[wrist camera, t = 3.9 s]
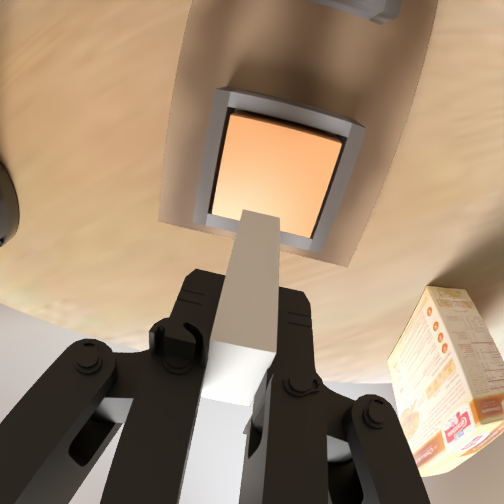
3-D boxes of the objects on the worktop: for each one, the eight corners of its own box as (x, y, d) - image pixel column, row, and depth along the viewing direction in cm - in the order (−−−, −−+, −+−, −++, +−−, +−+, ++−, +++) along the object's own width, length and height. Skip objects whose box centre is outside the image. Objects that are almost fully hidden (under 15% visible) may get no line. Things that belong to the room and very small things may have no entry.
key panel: (172, 203, 31) (141, 244, 24) (241, -104, 12) (226, -144, 5) (341, 244, 31) (354, 295, 25) (430, -53, 13) (467, -77, 6)
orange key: (220, 197, 24) (211, 214, 21) (237, 109, 20) (230, 114, 17) (307, 218, 24) (309, 238, 21) (334, 134, 20) (342, 143, 18)
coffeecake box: (423, 361, 41) (449, 472, 24) (384, 361, 41) (404, 481, 25) (467, 288, 33) (527, 413, 16) (425, 283, 33) (481, 426, 17)
